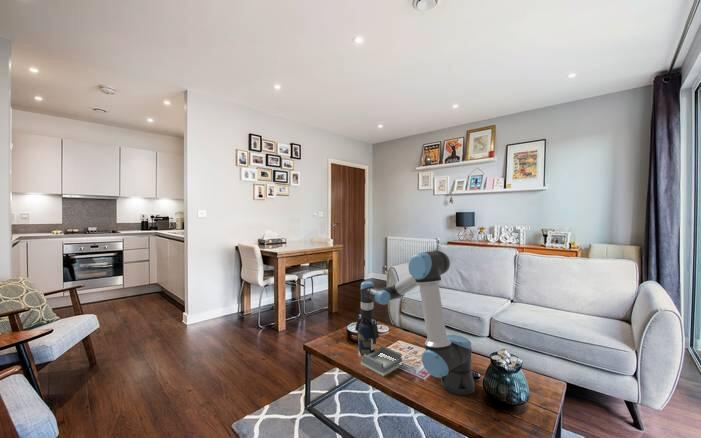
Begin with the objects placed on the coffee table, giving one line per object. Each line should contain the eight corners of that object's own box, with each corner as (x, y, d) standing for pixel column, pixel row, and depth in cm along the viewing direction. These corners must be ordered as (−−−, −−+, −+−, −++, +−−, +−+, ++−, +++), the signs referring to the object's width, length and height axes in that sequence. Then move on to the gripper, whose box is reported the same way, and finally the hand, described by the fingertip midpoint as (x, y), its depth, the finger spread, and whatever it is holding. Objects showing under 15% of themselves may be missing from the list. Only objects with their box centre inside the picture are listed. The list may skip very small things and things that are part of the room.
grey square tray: (402, 364, 157) (402, 354, 157) (383, 376, 146) (383, 365, 146) (380, 354, 169) (380, 344, 169) (360, 364, 158) (360, 354, 158)
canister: (375, 356, 166) (375, 325, 166) (358, 356, 166) (358, 325, 166) (374, 348, 176) (374, 319, 175) (358, 348, 176) (358, 318, 176)
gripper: (385, 311, 165) (385, 350, 166) (358, 302, 181) (357, 338, 182) (377, 314, 160) (376, 355, 160) (349, 305, 176) (349, 341, 176)
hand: (366, 346), depth 171 cm, fingers closed on canister, 9 cm apart
